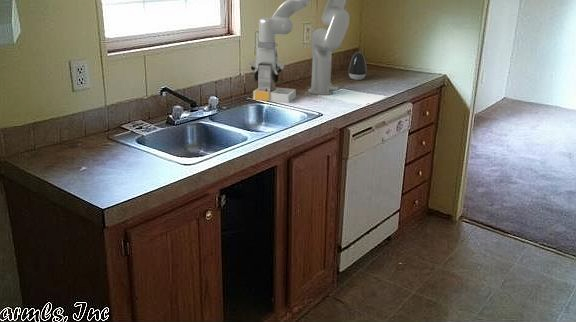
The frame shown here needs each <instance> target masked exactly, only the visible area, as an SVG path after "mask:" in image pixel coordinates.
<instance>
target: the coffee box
mask: <svg viewBox="0 0 576 322" xmlns="http://www.w3.org/2000/svg"><path fill="white" fill-rule="evenodd" d="M274 75H275V72H274V71H273V70H272V64H265V63H259V64H258V81H257V82H258V84H257V85H258V86H257V89H258V91H266V92H269V93H271V92H272V91H274V90H275V87H276V83H275V82H274Z"/></svg>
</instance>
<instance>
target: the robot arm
mask: <svg viewBox="0 0 576 322" xmlns="http://www.w3.org/2000/svg"><path fill="white" fill-rule="evenodd" d="M311 2H312V0H285V1H284V2H283V3H282V4H280V5H279V7H278V8H277V9H276V10H275V11H274V13H273V15H271V17H262V18H260V19H259V20H258V47H257V48H256V54H255V59H254V60H253V61H251V62H249V63H248V65H249V67H250V68H251V71H252V72H253V74H254V81H255V82H258V64H259V63H265V64H272V70H273V71H274V72H275V75H274V82H275V84H276V83H278V81H279V75H280V73H281V72H282V71H283V69H284V68H285V64H283V63H281V62H280V61H279V58H278V57H279V56H278V50H277V47H278V43H276V35H284V36H285V35H288V34H290V33H291V32H292V31H293V29H294V28H293V27H294V26H293V25H294V24H293V22H292V21H291V20H290V19H289V18H290V17H292V16H293V15H294V14H296V13H297V12H299V11H302V10H304V9H305V8H307V7H308V6H309V4H310V3H311ZM346 2H347V0H327V3H326V4H325V6H324V7H325V8H324V10H323V13H322V15H321V22H322V24H323V25H325V26H326V27H328V28H324V27H323V28H317V29H316V30H314V31H313V33H312V35H311V48H312V62H311V64H312V65H311V85H310V86H311V87H309V88H308V90H307V92H308V93H309V94H311V95H316V96H317V95H318V96H326V95H331V94H333V93H334V91H337V92H338V91H339V88H340V87H339V86H337V85H333V84H332V82H331V79H332V78H331V77H332V61H333V59H332V58H333V56H332V52H334V51H337V50H338V49H339V48H340V46H341V45H342V43H343V41H344V37H345V35H346V32H347V30H348V28H349V25H350V14H349V12H348V10H346V9H345V5H346ZM254 65H255V66H254ZM278 68H279V69H278Z"/></svg>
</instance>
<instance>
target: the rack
mask: <svg viewBox="0 0 576 322" xmlns="http://www.w3.org/2000/svg"><path fill="white" fill-rule="evenodd" d="M295 98H297V89H296V88H286V87H276V86H275V90H274V91H272V92H271V93H269V92H266V91H258V88H256V89H255V90H252V100H255V101H263V102H264V101H265V102H276V103H277V102H278V103H285V104H287V103H288V104H289V103H290V102H291V101H293V100H294V99H295Z"/></svg>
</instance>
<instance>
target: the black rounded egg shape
mask: <svg viewBox="0 0 576 322" xmlns="http://www.w3.org/2000/svg"><path fill="white" fill-rule="evenodd" d="M347 72H348V75H349V78H350V79H351V80H353V79H354V81H361V80H363V79H365V77H366V76H367V63H366V58H365V56H364V52H363V51H362V52H360V51H358V52H354V54H353V56H352V57H351V60H350V63H349V65H348V71H347Z"/></svg>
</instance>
